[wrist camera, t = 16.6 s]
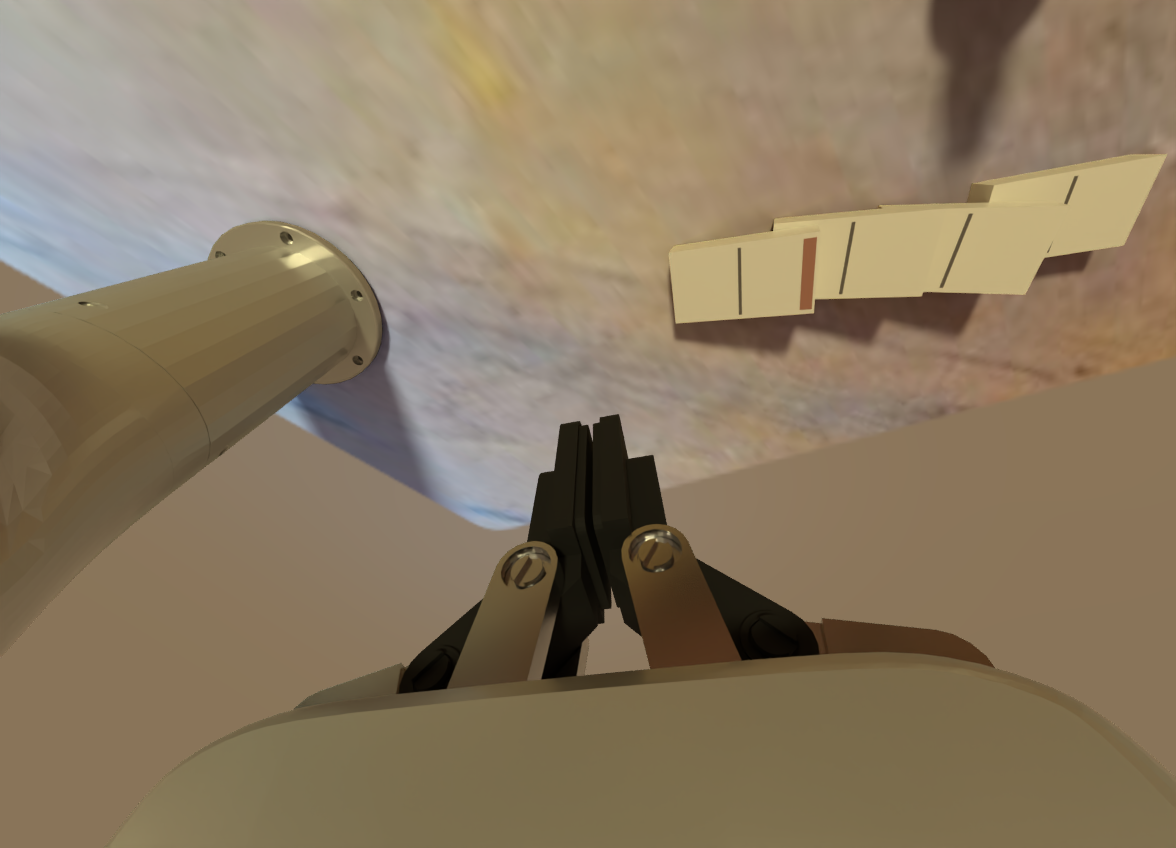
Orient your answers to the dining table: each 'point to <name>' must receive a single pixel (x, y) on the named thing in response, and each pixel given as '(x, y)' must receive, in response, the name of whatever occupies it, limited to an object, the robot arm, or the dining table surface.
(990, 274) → the domino
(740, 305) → the domino
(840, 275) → the domino
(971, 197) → the domino
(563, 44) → the dining table surface
